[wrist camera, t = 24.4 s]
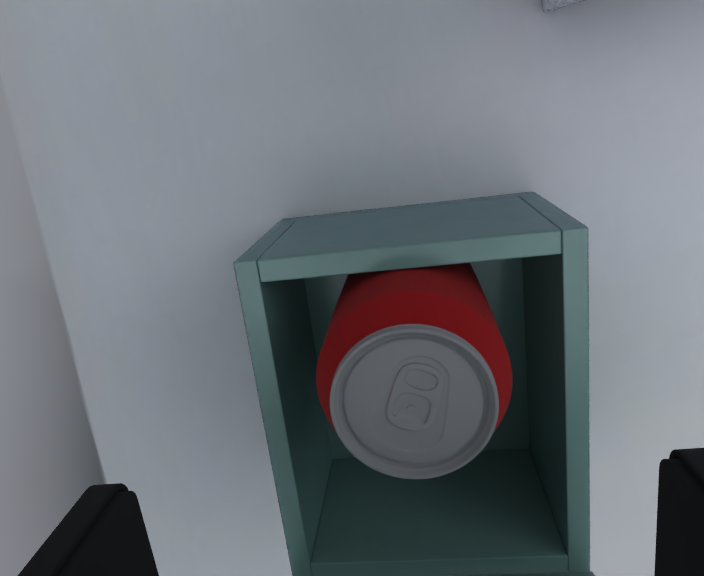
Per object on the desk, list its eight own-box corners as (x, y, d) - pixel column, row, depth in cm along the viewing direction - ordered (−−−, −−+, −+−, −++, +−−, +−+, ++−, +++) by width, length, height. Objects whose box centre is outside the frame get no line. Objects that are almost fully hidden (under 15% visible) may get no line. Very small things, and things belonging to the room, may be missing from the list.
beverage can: (332, 333, 31) (287, 468, 19) (363, 212, 29) (333, 281, 17) (455, 366, 31) (483, 520, 19) (495, 246, 28) (554, 339, 17)
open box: (281, 218, 30) (232, 262, 21) (534, 191, 28) (588, 227, 20) (321, 463, 34) (293, 581, 26) (542, 451, 33) (590, 572, 24)
